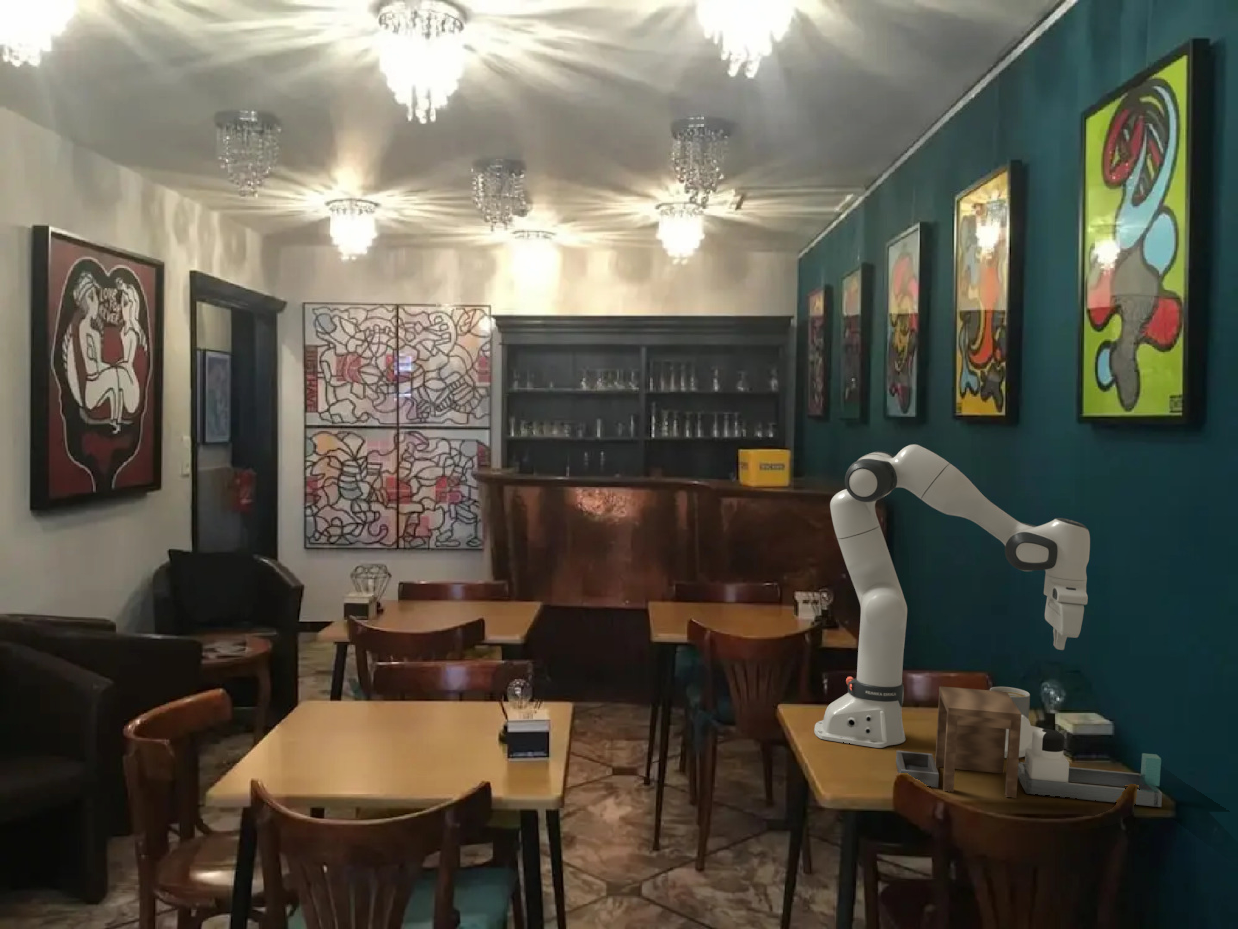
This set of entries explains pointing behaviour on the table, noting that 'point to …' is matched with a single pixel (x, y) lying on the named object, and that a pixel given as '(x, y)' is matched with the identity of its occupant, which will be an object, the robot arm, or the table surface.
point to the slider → (1145, 780)
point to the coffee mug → (1017, 698)
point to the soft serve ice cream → (1023, 736)
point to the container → (1047, 756)
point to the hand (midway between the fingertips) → (1058, 648)
